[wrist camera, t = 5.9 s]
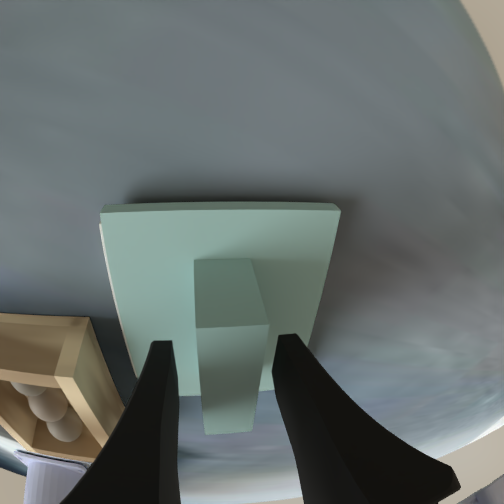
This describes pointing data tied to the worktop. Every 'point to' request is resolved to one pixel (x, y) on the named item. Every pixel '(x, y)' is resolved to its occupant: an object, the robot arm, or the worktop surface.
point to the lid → (219, 290)
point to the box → (56, 386)
